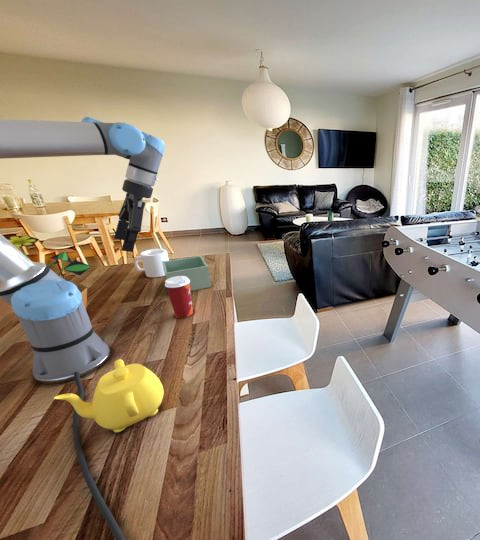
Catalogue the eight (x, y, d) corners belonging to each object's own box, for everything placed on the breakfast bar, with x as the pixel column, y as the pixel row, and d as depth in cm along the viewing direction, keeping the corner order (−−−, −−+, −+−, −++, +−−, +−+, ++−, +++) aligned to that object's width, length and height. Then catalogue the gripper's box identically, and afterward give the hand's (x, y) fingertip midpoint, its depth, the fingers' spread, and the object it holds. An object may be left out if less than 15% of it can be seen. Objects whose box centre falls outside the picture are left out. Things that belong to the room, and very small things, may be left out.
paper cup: (200, 312, 107) (193, 278, 101) (179, 322, 100) (170, 286, 95) (188, 306, 110) (181, 273, 105) (167, 315, 104) (159, 280, 99)
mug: (134, 279, 130) (128, 257, 126) (140, 270, 139) (135, 250, 135) (169, 275, 135) (164, 254, 131) (173, 268, 144) (168, 248, 140)
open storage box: (211, 286, 127) (207, 266, 123) (170, 295, 118) (164, 273, 114) (204, 274, 138) (201, 255, 134) (166, 281, 129) (161, 261, 126)
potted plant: (30, 339, 88) (-14, 247, 77) (40, 314, 101) (3, 231, 90) (105, 321, 99) (77, 237, 87) (105, 300, 112) (80, 225, 101)
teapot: (122, 388, 72) (109, 350, 68) (180, 389, 73) (170, 352, 68) (72, 439, 59) (51, 396, 55) (142, 440, 60) (127, 398, 55)
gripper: (163, 193, 87) (145, 258, 89) (144, 181, 103) (129, 237, 105) (133, 184, 81) (114, 254, 84) (117, 173, 97) (102, 232, 99)
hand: (122, 245), depth 94 cm, fingers open, 13 cm apart
